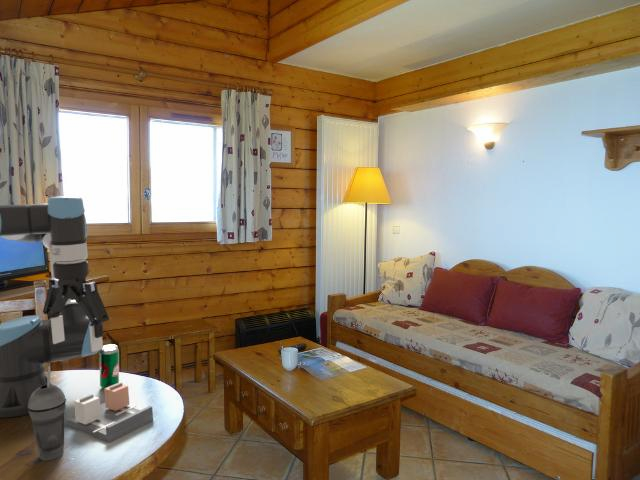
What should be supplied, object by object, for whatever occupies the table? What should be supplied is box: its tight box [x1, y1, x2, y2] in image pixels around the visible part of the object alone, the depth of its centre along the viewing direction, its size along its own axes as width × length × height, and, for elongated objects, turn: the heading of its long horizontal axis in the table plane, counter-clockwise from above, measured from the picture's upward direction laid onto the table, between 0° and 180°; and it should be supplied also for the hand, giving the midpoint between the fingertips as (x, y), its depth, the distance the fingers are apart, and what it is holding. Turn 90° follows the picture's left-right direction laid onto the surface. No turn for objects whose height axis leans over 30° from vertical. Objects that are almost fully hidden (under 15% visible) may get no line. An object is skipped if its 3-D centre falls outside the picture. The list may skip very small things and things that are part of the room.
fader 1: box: [73, 394, 101, 425], centre depth 117 cm, size 4×4×6 cm
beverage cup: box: [28, 365, 67, 462], centre depth 104 cm, size 7×7×20 cm
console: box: [66, 402, 154, 443], centre depth 119 cm, size 17×14×4 cm
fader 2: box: [103, 382, 130, 411], centre depth 124 cm, size 4×4×6 cm
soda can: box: [99, 343, 120, 389], centre depth 140 cm, size 5×5×12 cm
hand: (77, 346), depth 119 cm, fingers open, 13 cm apart
